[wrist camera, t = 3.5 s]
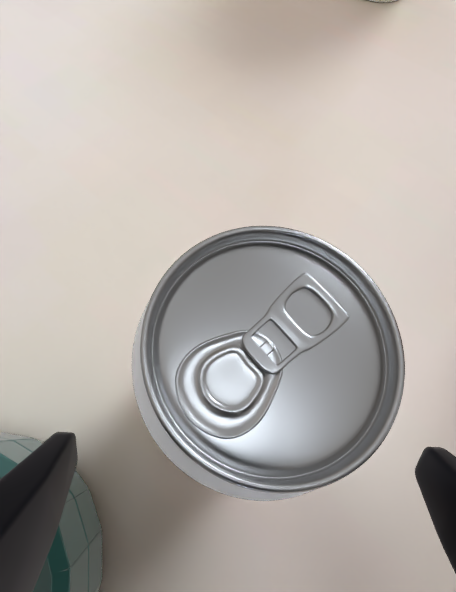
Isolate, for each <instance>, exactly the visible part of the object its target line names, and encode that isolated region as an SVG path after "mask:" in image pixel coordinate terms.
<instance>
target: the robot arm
mask: <svg viewBox="0 0 456 592" xmlns="http://www.w3.org/2000/svg"><path fill="white" fill-rule="evenodd" d="M76 465H77V447H76V437H75V434H74V433H72V432H57V433H55V434H53V435H52V436H51V437H50V438H49V439H47V440H46V441H45V442H44V443H43V444H41V445H40V446H39V447H38V448H37V449H36V450H34V451H33V452H32V453H31V454H30V455H28V456H27V457H26V458H25V459H24V460H22V461H21V462H20V463H19V464H18V465H17V466H15V467H14V468H13V469H12V470H11V471H9V472H8V473H7V474H6V475H5V476H3V477H2V478H1V479H0V592H33V590H34V587H35V585H36V582H37V580H38V577H39V575H40V573H41V570H42V568H43V565H44V563H45V560H46V558H47V555H48V553H49V551H50V548H51V546H52V543H53V540H54V538H55V535H56V532H57V529H58V526H59V522H60V519H61V516H62V512H63V509H64V506H65V502H66V499H67V496H68V492H69V489H70V486H71V482H72V479H73V476H74V472H75V469H76ZM415 475H416V479H417V482H418V485H419V487H420V490H421V492H422V495H423V498H424V500H425V503H426V505H427V508H428V511H429V513H430V516H431V519H432V521H433V524H434V526H435V529H436V532H437V534H438V536H439V539H440V541H441V543H442V546H443V548H444V550H445V552H446V554H447V556H448V558H449V561H450V563H451V565H452V567H453V569H454V571H455V573H456V457H455V456H454V455H452V454H451V453H450V452H448V451H447V450H445V449H443V448H440V447H427V448H425V449H424V451H423V453H422V455H421V457H420V459H419V461H418V463H417V466H416V468H415Z"/></svg>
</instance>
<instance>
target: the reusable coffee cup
mask: <svg viewBox="0 0 456 592" xmlns="http://www.w3.org/2000/svg"><path fill="white" fill-rule="evenodd" d="M369 1H373V2H393V1H397V0H369Z"/></svg>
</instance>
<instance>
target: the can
mask: <svg viewBox="0 0 456 592" xmlns="http://www.w3.org/2000/svg"><path fill="white" fill-rule="evenodd" d="M132 378H133V386H134V391H135V396H136V400H137V404H138V407H139V410H140V413H141V415H142V418H143V420H144V422H145V424H146V426H147V428H148V430H149V432H150V434H151V436H152V437H153V439H154V440H155V442H156V443H157V445H158V446H159V447H160V449H161V450H162V451H163V452H164V454H165V455H166V456H167V457H168V458H169V459H170V460H171V461H172V462H173V463H174V464H175V465H176V466H177V467H178V468H179V469H181V470H182V471H183V472H184V473H186V474H187V475H188V476H190V477H191V478H193V479H194V480H196V481H197V482H199V483H201V484H203V485H204V486H206V487H208V488H210V489H213V490H215V491H217V492H220V493H223V494H226V495H229V496H233V497H236V498H241V499H247V500H257V501H272V500H282V499H288V498H292V497H296V496H300V495H303V494H306V493H308V492H311V491H313V490H315V489H318V488H321V487H324V486H327V485H329V484H332V483H334V482H336V481H338V480H340V479H342V478H344V477H345V476H347V475H349V474H350V473H352V472H353V471H355V470H356V469H357V468H359V467H360V466H361V465H362V464H363V463H364V462H366V461H367V460H368V459H369V458H370V457H371V456H372V455H373V453H374V452H375V451H376V450H377V449H378V447H379V446H380V445H381V443H382V442H383V441H384V439H385V437H386V436H387V434H388V432H389V431H390V429H391V427H392V425H393V423H394V420H395V418H396V415H397V413H398V410H399V406H400V403H401V399H402V394H403V388H404V378H405V362H404V351H403V345H402V340H401V336H400V332H399V329H398V326H397V323H396V320H395V317H394V315H393V313H392V310H391V308H390V306H389V304H388V303H387V301H386V299H385V297H384V296H383V294H382V292H381V291H380V289H379V288H378V287H377V285H376V284H375V283H374V281H373V280H372V279H371V278H370V276H369V275H368V274H367V273H366V272H365V271H364V270H363V269H362V268H361V267H360V266H359V265H358V264H357V263H356V262H355V261H354V260H352V259H351V258H350V257H349V256H348V255H346V254H345V253H343V252H342V251H341V250H339V249H338V248H336V247H334V246H333V245H331V244H329V243H327V242H326V241H324V240H322V239H319V238H317V237H315V236H312V235H310V234H307V233H304V232H301V231H297V230H293V229H289V228H283V227H275V226H250V227H242V228H237V229H232V230H228V231H225V232H222V233H219V234H217V235H214V236H212V237H210V238H208V239H206V240H204V241H202V242H200V243H198V244H197V245H195V246H194V247H192V248H191V249H189V250H188V251H187V252H186V253H184V254H183V255H182V256H181V257H180V258H179V259H178V260H177V261H175V262H174V264H173V265H172V266H171V267H170V268H169V269H168V270H167V272H166V273H165V274H164V276H163V277H162V279H161V280H160V282H159V283H158V285H157V286H156V288H155V290H154V292H153V294H152V296H151V298H150V301H149V302H148V304H147V306H146V308H145V310H144V312H143V314H142V316H141V319H140V322H139V324H138V327H137V331H136V335H135V339H134V344H133V352H132Z"/></svg>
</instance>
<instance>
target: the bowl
mask: <svg viewBox="0 0 456 592" xmlns="http://www.w3.org/2000/svg"><path fill="white" fill-rule="evenodd" d="M41 444H43V443H41V442H40V441H38V440H37V439H34V438H31V437H26V436H21V435H15V434H10V433H5V432H0V479H1V478H2V477H3V476H5V475H6V474H7V473H8V472H9V471H11V470H12V469H13V468H14V467H15V466H17V465H18V464H19V463H20V462H21V461H22V460H24V459H25V458H26V457H27V456H28V455H30V454H31V453H32V452H33V451H34V450H36V449H37V448H38V447H39V446H40V445H41ZM101 581H102V530H101V525H100V522H99V519H98V515H97V512H96V509H95V506H94V503H93V499H92V496H91V493H90V490H89V489H88V486H87V485H86V484H85V482H84V481H83V480H82V478H81V477H80V476H79V474H78V473H77V472H76V470H75V472H74V476H73V479H72V482H71V486H70V489H69V492H68V496H67V499H66V502H65V506H64V509H63V512H62V516H61V519H60V522H59V526H58V529H57V532H56V535H55V538H54V540H53V543H52V546H51V548H50V551H49V553H48V555H47V558H46V560H45V563H44V565H43V568H42V570H41V573H40V575H39V577H38V580H37V582H36V585H35V587H34V590H33V592H99V589H100V585H101Z"/></svg>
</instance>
